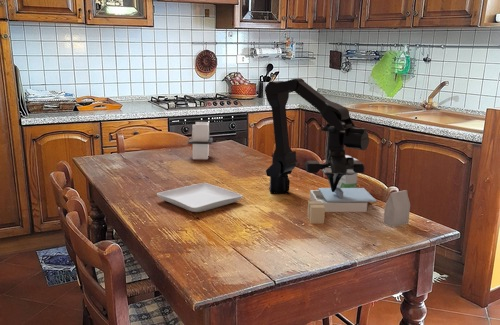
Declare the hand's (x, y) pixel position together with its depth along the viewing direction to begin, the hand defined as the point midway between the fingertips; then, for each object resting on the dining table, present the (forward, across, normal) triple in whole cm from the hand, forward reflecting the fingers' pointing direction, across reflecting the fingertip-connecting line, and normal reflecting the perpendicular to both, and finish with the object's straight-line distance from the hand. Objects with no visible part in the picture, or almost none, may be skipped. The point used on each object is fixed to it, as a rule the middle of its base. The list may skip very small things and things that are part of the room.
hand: (332, 191), depth 159 cm
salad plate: (+5, -44, +3) cm, 45 cm away
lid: (+1, +5, 0) cm, 5 cm away
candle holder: (+5, -47, +68) cm, 83 cm away
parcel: (+5, -8, -14) cm, 17 cm away
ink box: (+5, +10, +20) cm, 23 cm away
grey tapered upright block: (+5, +16, -17) cm, 24 cm away
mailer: (+5, +2, 0) cm, 5 cm away
